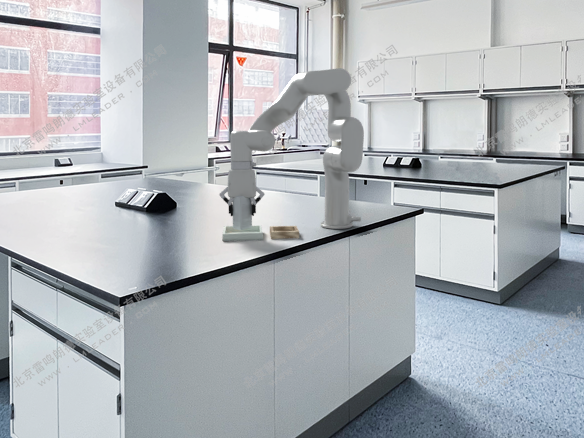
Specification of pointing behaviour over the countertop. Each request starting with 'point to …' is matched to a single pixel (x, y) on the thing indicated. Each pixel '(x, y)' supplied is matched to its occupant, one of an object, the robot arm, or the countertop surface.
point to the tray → (242, 234)
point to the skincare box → (242, 213)
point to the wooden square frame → (284, 232)
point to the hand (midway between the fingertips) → (242, 215)
